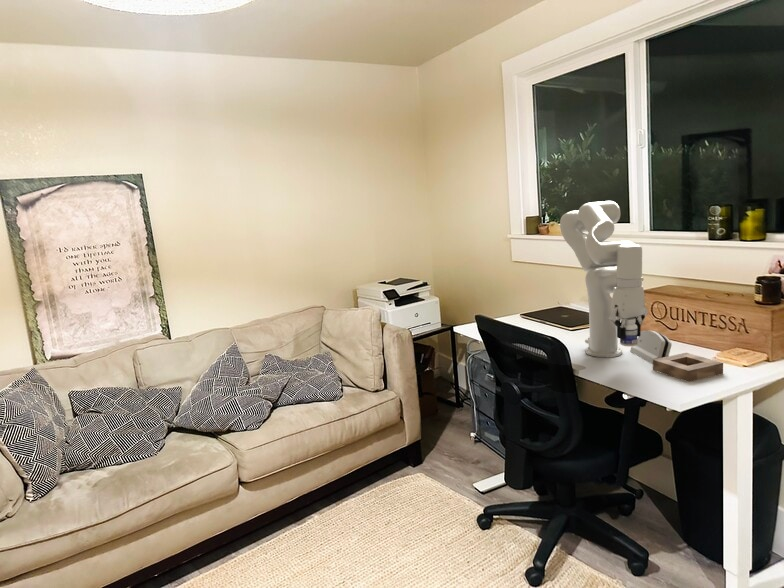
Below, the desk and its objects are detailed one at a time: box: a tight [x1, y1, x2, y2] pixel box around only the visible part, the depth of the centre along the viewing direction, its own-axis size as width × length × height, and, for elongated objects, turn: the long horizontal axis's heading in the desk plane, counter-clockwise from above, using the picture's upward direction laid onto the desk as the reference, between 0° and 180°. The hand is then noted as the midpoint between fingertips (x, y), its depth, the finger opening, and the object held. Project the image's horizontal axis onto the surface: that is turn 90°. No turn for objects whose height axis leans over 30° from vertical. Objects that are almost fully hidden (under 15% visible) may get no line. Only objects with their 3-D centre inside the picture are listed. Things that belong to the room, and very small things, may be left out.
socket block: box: [652, 352, 724, 383], centre depth 179 cm, size 14×14×4 cm
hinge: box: [629, 330, 672, 365], centre depth 197 cm, size 17×5×10 cm, turn 3°
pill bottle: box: [619, 317, 638, 347], centre depth 184 cm, size 5×5×9 cm
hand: (628, 336), depth 184 cm, fingers closed on pill bottle, 5 cm apart
